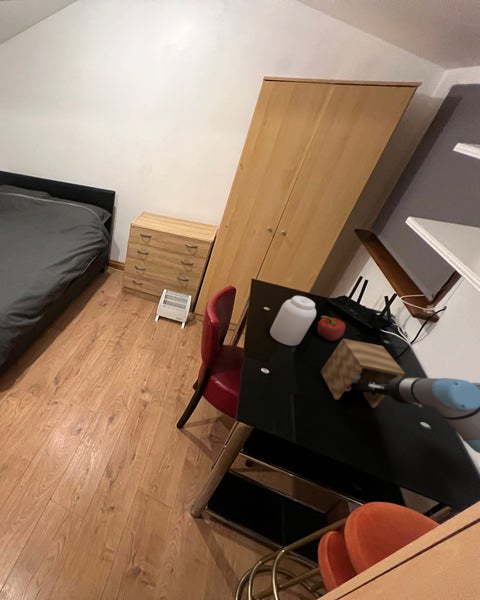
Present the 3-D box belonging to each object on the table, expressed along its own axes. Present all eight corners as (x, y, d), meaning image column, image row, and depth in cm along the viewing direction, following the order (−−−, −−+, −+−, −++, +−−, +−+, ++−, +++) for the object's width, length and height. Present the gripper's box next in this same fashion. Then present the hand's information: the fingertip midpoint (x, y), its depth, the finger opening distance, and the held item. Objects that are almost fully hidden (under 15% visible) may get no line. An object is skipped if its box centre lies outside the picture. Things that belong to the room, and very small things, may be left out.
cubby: (374, 407, 114) (405, 373, 104) (334, 398, 116) (360, 364, 106) (356, 379, 125) (382, 346, 116) (320, 371, 127) (342, 338, 118)
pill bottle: (331, 379, 124) (344, 361, 119) (347, 382, 123) (361, 364, 118) (336, 389, 120) (350, 371, 114) (352, 393, 119) (367, 375, 113)
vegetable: (313, 339, 145) (323, 321, 139) (309, 326, 153) (319, 309, 147) (341, 346, 142) (353, 329, 136) (336, 333, 150) (347, 316, 144)
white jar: (278, 325, 152) (296, 289, 141) (305, 340, 143) (327, 303, 132) (263, 333, 146) (281, 296, 135) (291, 350, 137) (312, 312, 126)
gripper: (385, 398, 94) (333, 393, 116) (437, 410, 91) (373, 402, 114) (386, 372, 95) (334, 372, 118) (438, 383, 93) (374, 381, 116)
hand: (354, 387), depth 116 cm, fingers closed
